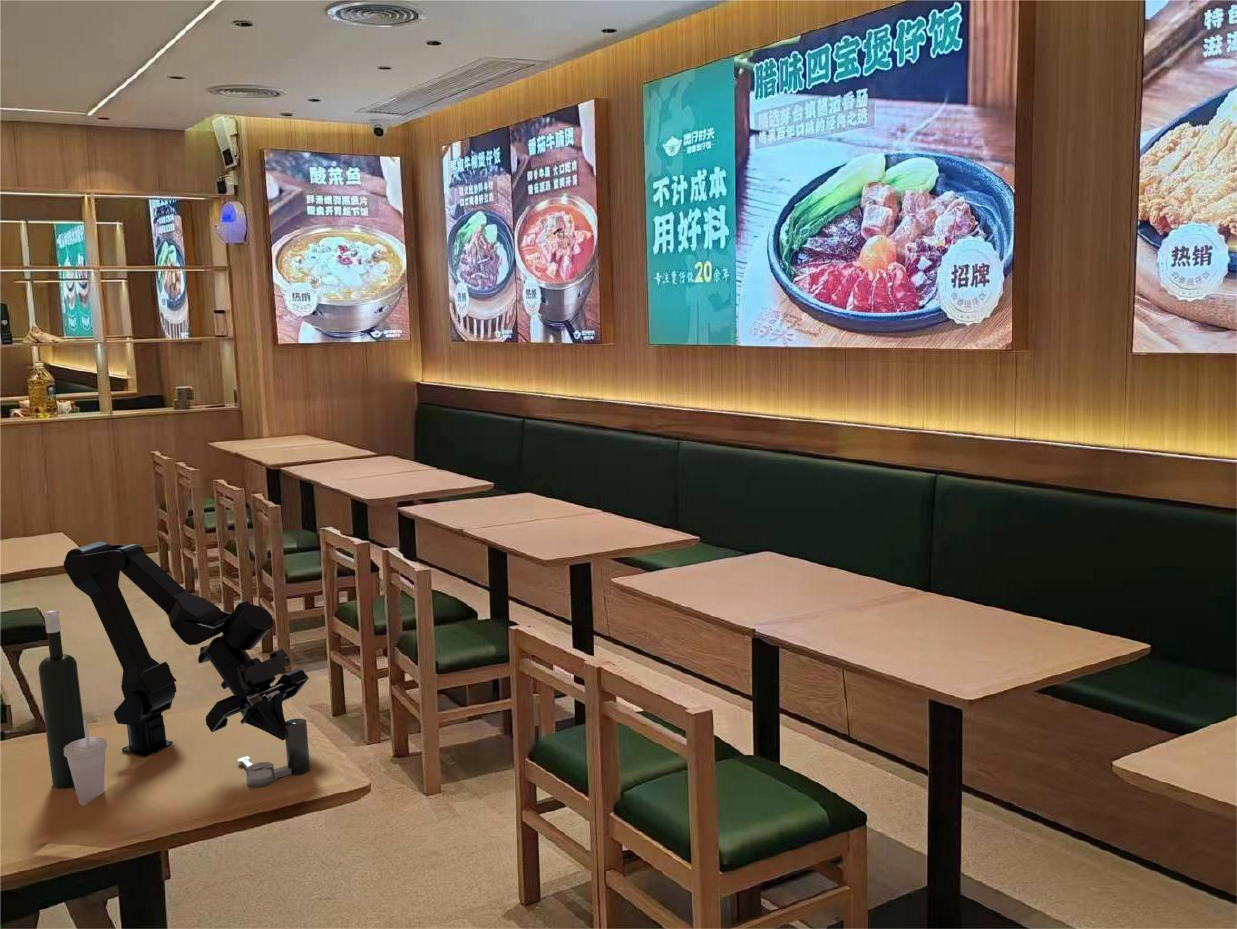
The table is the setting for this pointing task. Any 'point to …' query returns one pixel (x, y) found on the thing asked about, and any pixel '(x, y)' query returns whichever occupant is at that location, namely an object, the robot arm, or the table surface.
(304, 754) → the dial
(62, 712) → the wine bottle
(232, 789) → the table surface
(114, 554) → the robot arm
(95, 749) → the smoothie
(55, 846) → the table surface
